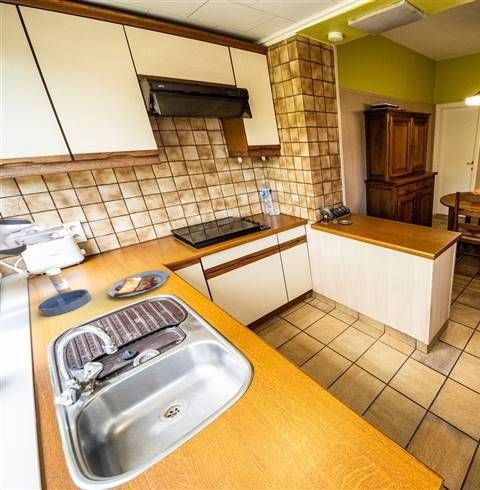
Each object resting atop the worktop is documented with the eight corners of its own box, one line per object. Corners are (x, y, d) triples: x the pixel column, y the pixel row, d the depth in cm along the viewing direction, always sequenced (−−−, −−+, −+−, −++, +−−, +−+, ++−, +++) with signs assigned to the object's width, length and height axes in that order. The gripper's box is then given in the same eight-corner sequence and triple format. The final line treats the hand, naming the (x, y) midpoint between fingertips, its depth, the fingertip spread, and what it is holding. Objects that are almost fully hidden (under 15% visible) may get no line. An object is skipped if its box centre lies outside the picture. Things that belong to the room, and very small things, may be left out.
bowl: (42, 321, 110) (37, 314, 109) (42, 307, 120) (38, 300, 118) (93, 303, 121) (89, 297, 119) (89, 291, 130) (86, 285, 129)
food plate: (161, 293, 126) (158, 287, 125) (100, 306, 119) (96, 299, 117) (174, 270, 148) (172, 264, 146) (123, 279, 140) (120, 274, 139)
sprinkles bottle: (57, 297, 127) (42, 273, 121) (62, 293, 131) (47, 269, 125) (70, 294, 129) (56, 270, 123) (74, 290, 133) (61, 266, 127)
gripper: (70, 233, 143) (71, 239, 134) (10, 246, 129) (8, 253, 120) (64, 222, 140) (65, 227, 132) (2, 234, 126) (0, 241, 118)
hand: (37, 240), depth 126 cm, fingers open, 8 cm apart
